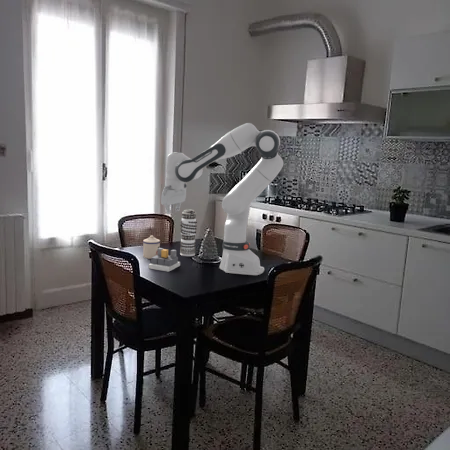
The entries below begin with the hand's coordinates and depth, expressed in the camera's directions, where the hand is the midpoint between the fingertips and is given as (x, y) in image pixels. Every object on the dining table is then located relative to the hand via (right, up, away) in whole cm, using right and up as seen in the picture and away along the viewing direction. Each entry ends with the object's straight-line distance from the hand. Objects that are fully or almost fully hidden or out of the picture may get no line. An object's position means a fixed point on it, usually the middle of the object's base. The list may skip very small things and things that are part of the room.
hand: (173, 212), depth 221 cm
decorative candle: (+5, -23, +24) cm, 34 cm away
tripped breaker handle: (-4, -22, -4) cm, 23 cm away
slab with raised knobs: (-4, -27, -3) cm, 28 cm away
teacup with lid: (-14, -23, +17) cm, 32 cm away
